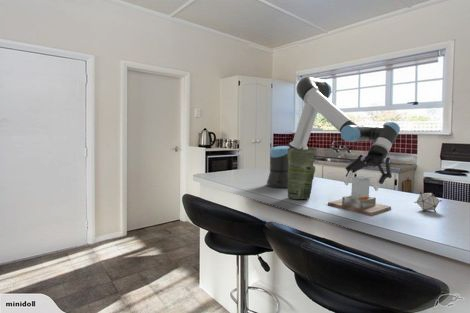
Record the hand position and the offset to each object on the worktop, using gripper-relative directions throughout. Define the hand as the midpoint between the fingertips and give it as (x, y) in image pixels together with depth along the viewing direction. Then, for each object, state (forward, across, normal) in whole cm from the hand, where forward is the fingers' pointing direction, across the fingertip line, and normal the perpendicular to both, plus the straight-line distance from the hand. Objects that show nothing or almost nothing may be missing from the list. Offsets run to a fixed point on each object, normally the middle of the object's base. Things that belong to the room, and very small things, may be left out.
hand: (359, 186), depth 125 cm
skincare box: (+6, 0, -6) cm, 8 cm away
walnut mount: (+6, 0, -7) cm, 9 cm away
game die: (-6, -20, -20) cm, 29 cm away
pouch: (+12, +26, -1) cm, 29 cm away
